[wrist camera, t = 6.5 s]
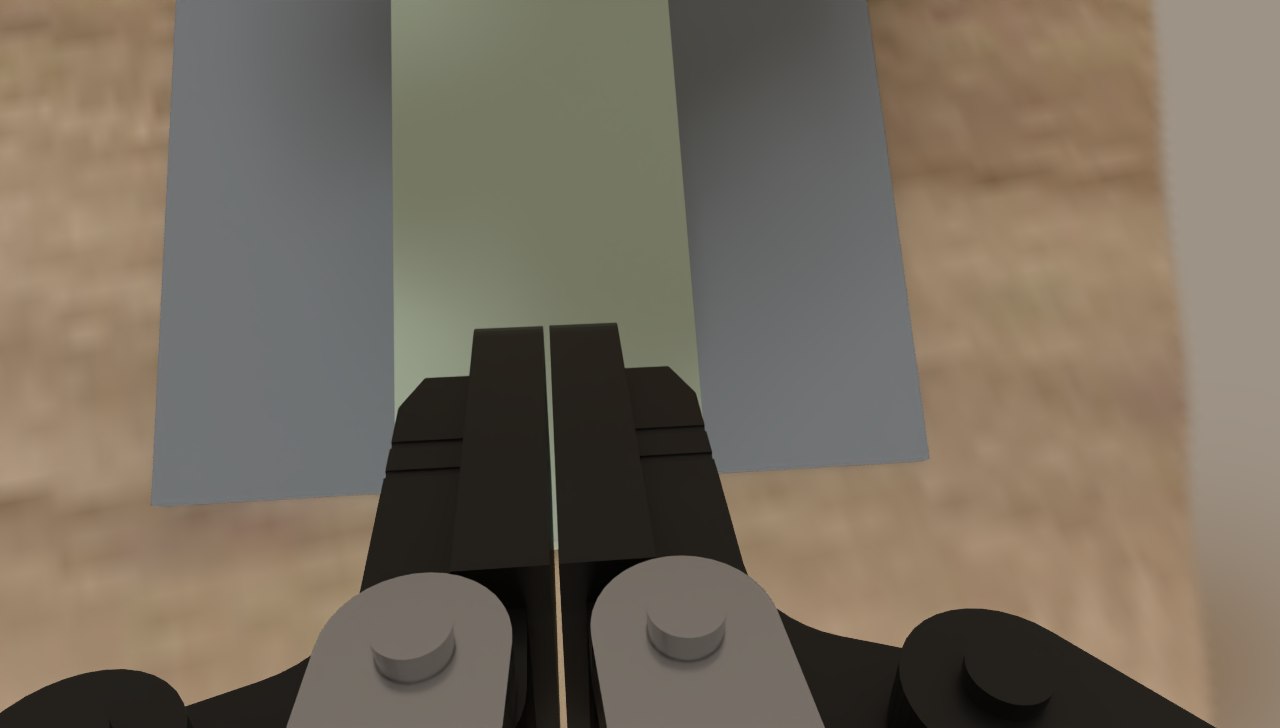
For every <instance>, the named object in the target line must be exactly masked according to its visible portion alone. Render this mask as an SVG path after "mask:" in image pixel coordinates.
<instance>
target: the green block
mask: <svg viewBox="0 0 1280 728" xmlns="http://www.w3.org/2000/svg"><path fill="white" fill-rule="evenodd" d="M391 55H392V170H393V285H394V400H395V422H396V417H397V412H398V408H399V407H400V406H401V404H402V403H403V402H404V401H405V400H406V399H407V398H408V397H409V395H410V394H411V393H412V392H413V391H414V390H415V389H416V388H417V386H418V385H419V384H420V383H421V382H422V381H423V380H424V379H425V378H435V377H456V376H469V373H470V363H471V353H472V342H473V333H474V329H483V328H506V327H529V326H543V331H544V348H545V366H546V385H547V403H548V421H549V440H550V459H551V481H552V505H553V534H554V550H558V529H557V504H556V480H555V455H554V431H553V406H552V382H551V357H550V333H549V325H569V324H592V323H615V322H616V323H617V325H618V331H619V336H620V342H621V348H622V354H623V360H624V366H625V368H637V367H658V366H669V367H670V368H671V369H672V370H673V371H674V372H675V373H676V374H677V375H678V376H679V377H680V378H681V379H682V380H683V381H684V382H685V383H686V384H688V385H689V386H690V387H691V388H692V389H693V390H694V391H695V392H696V395H697V399H698V403H699V406H700V410H701V413H702V402H701V390H700V378H699V366H698V354H697V342H696V330H695V318H694V306H693V294H692V283H691V271H690V259H689V247H688V235H687V223H686V211H685V199H684V187H683V175H682V163H681V151H680V139H679V127H678V115H677V103H676V91H675V79H674V67H673V55H672V43H671V31H670V19H669V7H668V0H391ZM702 417H703V414H702Z"/></svg>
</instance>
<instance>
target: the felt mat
mask: <svg viewBox="0 0 1280 728" xmlns="http://www.w3.org/2000/svg"><path fill="white" fill-rule="evenodd" d="M668 7H669V19H670V31H671V43H672V55H673V67H674V79H675V91H676V103H677V115H678V127H679V139H680V151H681V163H682V175H683V187H684V199H685V211H686V223H687V235H688V247H689V259H690V271H691V283H692V294H693V306H694V318H695V330H696V342H697V354H698V366H699V378H700V390H701V402H702V414H703V421H704V424H705V431H707V435H708V438H709V442H710V446H711V449H712V458H713V459H714V460H715V464H716V467H717V471H718V473H735V472H752V471H768V470H785V469H802V468H819V467H836V466H852V465H869V464H886V463H903V462H919V461H925V460H928V459H929V451H928V444H927V437H926V429H925V422H924V415H923V407H922V400H921V393H920V386H919V378H918V371H917V364H916V356H915V349H914V342H913V334H912V327H911V320H910V312H909V305H908V298H907V291H906V283H905V276H904V269H903V261H902V254H901V247H900V239H899V232H898V225H897V218H896V210H895V203H894V196H893V188H892V181H891V174H890V166H889V159H888V152H887V145H886V137H885V130H884V123H883V115H882V108H881V101H880V93H879V86H878V79H877V71H876V64H875V57H874V50H873V42H872V35H871V28H870V20H869V13H868V6H867V0H668ZM394 426H395V400H394V285H393V170H392V55H391V0H176V11H175V32H174V52H173V72H172V92H171V112H170V132H169V153H168V173H167V193H166V213H165V233H164V253H163V274H162V294H161V314H160V334H159V354H158V374H157V395H156V415H155V435H154V455H153V475H152V495H151V505H153V506H159V507H165V506H181V505H198V504H215V503H232V502H248V501H265V500H282V499H299V498H315V497H332V496H349V495H366V494H381V489H382V484H383V479H384V478H386V473H385V470H386V465H387V460H388V455H389V450H390V449H391V448H392V445H391V441H392V436H393V431H394Z"/></svg>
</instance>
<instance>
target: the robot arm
mask: <svg viewBox="0 0 1280 728" xmlns="http://www.w3.org/2000/svg"><path fill="white" fill-rule="evenodd" d="M549 333H550V357H551V382H552V406H553V431H554V455H555V480H556V504H557V529H558V553H559V575H560V594H561V613H562V632H563V651H564V670H565V689H566V708H567V727H568V728H1215V727H1214V726H1212V725H1210V724H1209V723H1207V722H1205V721H1203V720H1202V719H1200V718H1198V717H1197V716H1195V715H1193V714H1191V713H1190V712H1188V711H1186V710H1185V709H1183V708H1181V707H1179V706H1178V705H1176V704H1174V703H1173V702H1171V701H1169V700H1167V699H1166V698H1164V697H1162V696H1161V695H1159V694H1157V693H1155V692H1154V691H1152V690H1150V689H1149V688H1147V687H1145V686H1144V685H1142V684H1140V683H1138V682H1137V681H1135V680H1133V679H1132V678H1130V677H1128V676H1126V675H1125V674H1123V673H1121V672H1120V671H1118V670H1116V669H1114V668H1113V667H1111V666H1109V665H1108V664H1106V663H1104V662H1102V661H1101V660H1099V659H1097V658H1096V657H1094V656H1092V655H1090V654H1089V653H1087V652H1085V651H1084V650H1082V649H1080V648H1078V647H1077V646H1075V645H1073V644H1072V643H1070V642H1068V641H1067V640H1065V639H1063V638H1061V637H1060V636H1058V635H1056V634H1055V633H1053V632H1051V631H1049V630H1047V629H1045V628H1043V627H1042V626H1040V625H1038V624H1036V623H1034V622H1031V621H1029V620H1026V619H1023V618H1021V617H1018V616H1015V615H1011V614H1008V613H1004V612H1000V611H994V610H987V609H958V610H950V611H947V612H943V613H940V614H936V615H934V616H932V617H930V618H928V619H926V620H924V621H923V622H922V623H921V624H919V625H918V626H917V627H915V628H914V629H913V631H912V632H911V633H910V634H909V636H908V637H907V638H906V641H905V643H904V645H903V647H902V648H899V647H894V646H889V645H884V644H878V643H873V642H868V641H863V640H858V639H853V638H847V637H842V636H838V635H834V634H830V633H826V632H822V631H819V630H817V629H814V628H811V627H809V626H806V625H804V624H802V623H800V622H798V621H796V620H794V619H792V618H790V617H789V616H787V615H786V614H784V613H783V612H781V611H780V610H778V609H777V608H776V607H775V605H774V603H773V601H772V599H771V598H770V597H769V595H768V594H767V593H766V592H765V590H764V589H763V588H762V587H761V586H760V585H759V584H758V583H757V582H755V581H754V580H753V579H752V578H751V577H749V576H748V574H747V572H746V569H745V567H744V564H743V561H742V557H741V553H740V550H739V546H738V543H737V539H736V535H735V532H734V528H733V525H732V521H731V517H730V514H729V510H728V507H727V503H726V499H725V496H724V492H723V489H722V485H721V482H720V478H719V474H718V471H717V467H716V464H715V460H714V459H713V458H712V449H711V446H710V442H709V438H708V435H707V431H705V424H704V421H703V417H702V413H701V410H700V406H699V403H698V399H697V395H696V392H695V391H694V390H693V389H692V388H691V387H690V386H689V385H688V384H686V383H685V382H684V381H683V380H682V379H681V378H680V377H679V376H678V375H677V374H676V373H675V372H674V371H673V370H672V369H671V368H670V367H669V366H658V367H637V368H625V366H624V360H623V354H622V348H621V342H620V336H619V331H618V325H617V323H616V322H615V323H592V324H569V325H549ZM391 445H392V448H391V449H390V450H389V455H388V460H387V465H386V470H385V473H386V478H384V479H383V484H382V489H381V494H380V498H379V503H378V508H377V513H376V518H375V523H374V527H373V532H372V537H371V542H370V547H369V551H368V556H367V561H366V566H365V571H364V575H363V580H362V585H361V590H360V593H359V594H358V595H356V596H354V597H353V598H352V599H350V600H349V601H348V602H347V603H345V604H344V605H343V606H342V607H340V608H339V609H338V610H337V612H336V613H335V614H334V615H333V616H332V617H331V618H330V619H329V620H328V622H327V623H326V625H325V626H324V628H323V629H322V631H321V632H320V634H319V637H318V639H317V641H316V643H315V645H314V648H313V651H312V654H311V656H309V657H308V658H306V659H305V660H303V661H302V662H300V663H299V664H297V665H295V666H293V667H291V668H289V669H288V670H286V671H284V672H282V673H280V674H277V675H275V676H272V677H270V678H267V679H265V680H262V681H260V682H257V683H254V684H251V685H248V686H245V687H242V688H239V689H236V690H233V691H230V692H227V693H224V694H221V695H218V696H215V697H212V698H209V699H206V700H203V701H200V702H197V703H194V704H192V705H189V706H186V707H185V706H184V703H183V701H182V700H181V698H180V696H179V695H178V693H177V691H176V690H175V689H174V688H172V687H171V686H170V685H169V684H168V683H167V682H165V681H164V680H162V679H160V678H158V677H156V676H155V675H151V674H148V673H145V672H141V671H134V670H126V669H116V670H101V671H95V672H89V673H84V674H81V675H77V676H73V677H70V678H66V679H64V680H61V681H59V682H56V683H53V684H51V685H48V686H46V687H44V688H42V689H40V690H38V691H36V692H34V693H32V694H30V695H28V696H26V697H24V698H23V699H21V700H19V701H18V702H16V703H15V704H13V705H12V706H10V707H8V708H7V709H5V710H4V711H2V712H1V713H0V728H560V705H559V677H558V648H557V620H556V591H555V563H554V534H553V505H552V481H551V459H550V440H549V421H548V403H547V385H546V366H545V348H544V331H543V326H529V327H506V328H483V329H474V333H473V342H472V353H471V363H470V373H469V376H456V377H435V378H425V379H424V380H423V381H422V382H421V383H420V384H419V385H418V386H417V388H416V389H415V390H414V391H413V392H412V393H411V394H410V395H409V397H408V398H407V399H406V400H405V401H404V402H403V403H402V404H401V406H400V407H399V408H398V412H397V417H396V422H395V426H394V431H393V436H392V441H391Z"/></svg>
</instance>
